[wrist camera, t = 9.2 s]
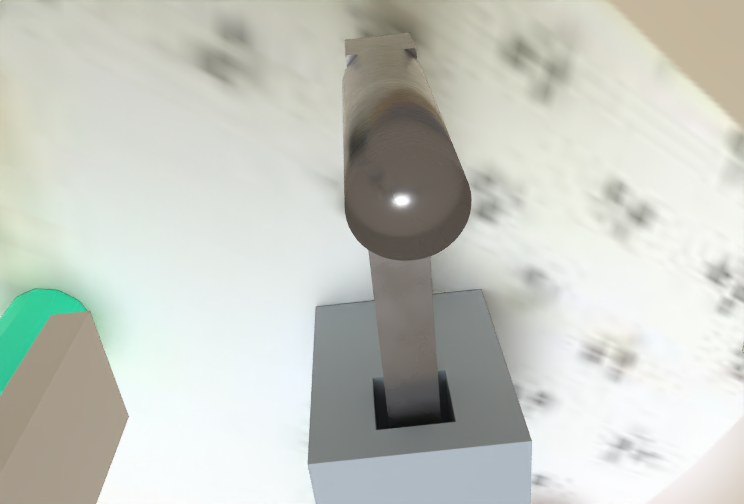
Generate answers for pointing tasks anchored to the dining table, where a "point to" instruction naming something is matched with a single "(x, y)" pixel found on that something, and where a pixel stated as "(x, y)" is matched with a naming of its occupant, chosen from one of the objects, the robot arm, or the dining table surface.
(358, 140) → the l-shaped bracket
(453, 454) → the bearing block
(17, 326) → the candle
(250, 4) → the dining table surface
